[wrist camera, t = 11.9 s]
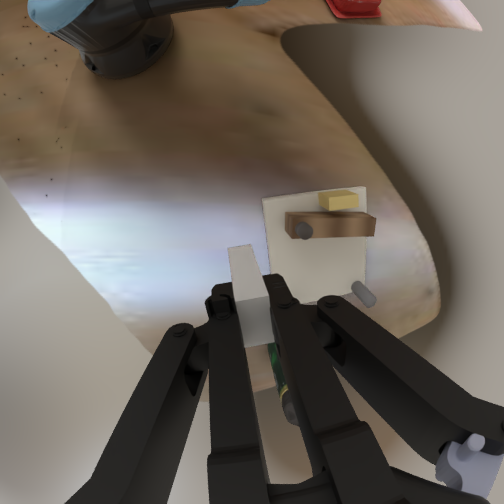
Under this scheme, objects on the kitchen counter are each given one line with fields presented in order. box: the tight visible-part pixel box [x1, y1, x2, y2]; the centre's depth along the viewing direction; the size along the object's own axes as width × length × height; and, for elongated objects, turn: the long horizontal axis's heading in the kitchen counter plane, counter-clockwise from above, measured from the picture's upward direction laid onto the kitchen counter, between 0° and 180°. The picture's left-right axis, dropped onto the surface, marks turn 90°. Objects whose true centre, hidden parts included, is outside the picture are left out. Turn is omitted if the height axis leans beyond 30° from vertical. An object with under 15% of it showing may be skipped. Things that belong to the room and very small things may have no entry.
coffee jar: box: [268, 339, 299, 426], centre depth 46 cm, size 10×8×19 cm
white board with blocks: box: [262, 186, 377, 308], centre depth 44 cm, size 20×18×8 cm
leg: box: [285, 211, 376, 240], centre depth 41 cm, size 14×3×6 cm, turn 90°
